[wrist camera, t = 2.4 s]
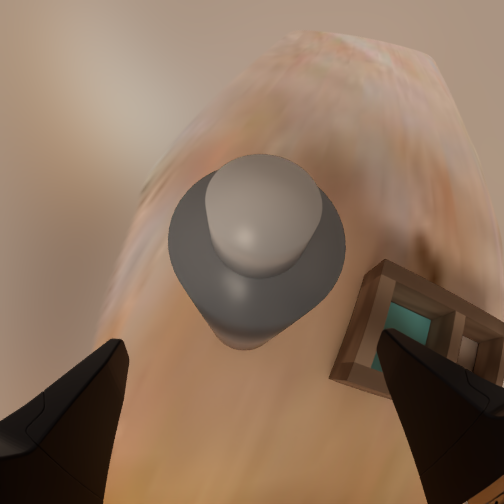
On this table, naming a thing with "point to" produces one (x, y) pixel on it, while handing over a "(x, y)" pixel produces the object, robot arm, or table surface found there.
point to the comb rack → (414, 327)
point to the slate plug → (256, 247)
